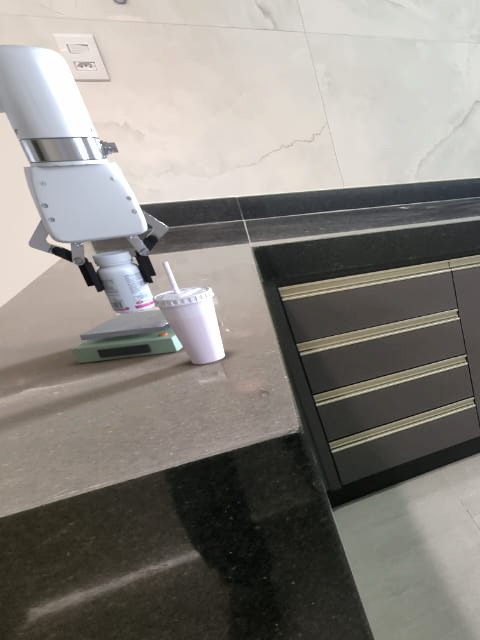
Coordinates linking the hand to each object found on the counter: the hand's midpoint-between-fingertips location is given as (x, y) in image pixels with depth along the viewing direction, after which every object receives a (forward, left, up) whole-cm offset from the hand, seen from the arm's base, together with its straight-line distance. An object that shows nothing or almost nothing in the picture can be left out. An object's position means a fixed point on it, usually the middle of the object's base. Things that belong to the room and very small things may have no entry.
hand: (124, 284), depth 78 cm
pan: (0, 0, -6) cm, 6 cm away
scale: (0, 0, -9) cm, 9 cm away
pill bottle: (0, 0, -4) cm, 4 cm away
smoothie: (+12, -11, -9) cm, 19 cm away
